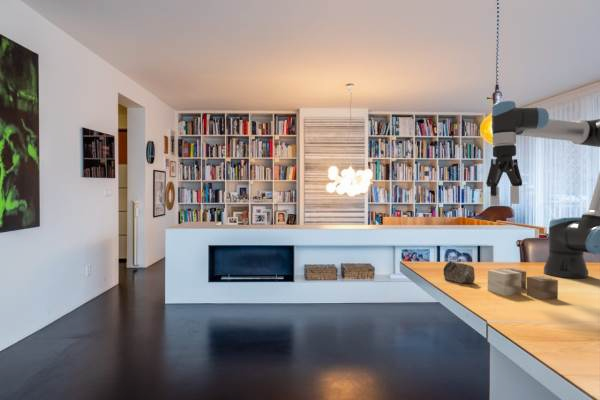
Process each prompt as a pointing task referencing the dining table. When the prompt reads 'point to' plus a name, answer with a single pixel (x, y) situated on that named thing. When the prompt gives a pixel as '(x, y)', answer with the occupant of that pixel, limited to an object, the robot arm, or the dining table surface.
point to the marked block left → (542, 288)
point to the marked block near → (523, 280)
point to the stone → (459, 272)
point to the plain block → (504, 282)
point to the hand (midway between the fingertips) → (505, 204)
